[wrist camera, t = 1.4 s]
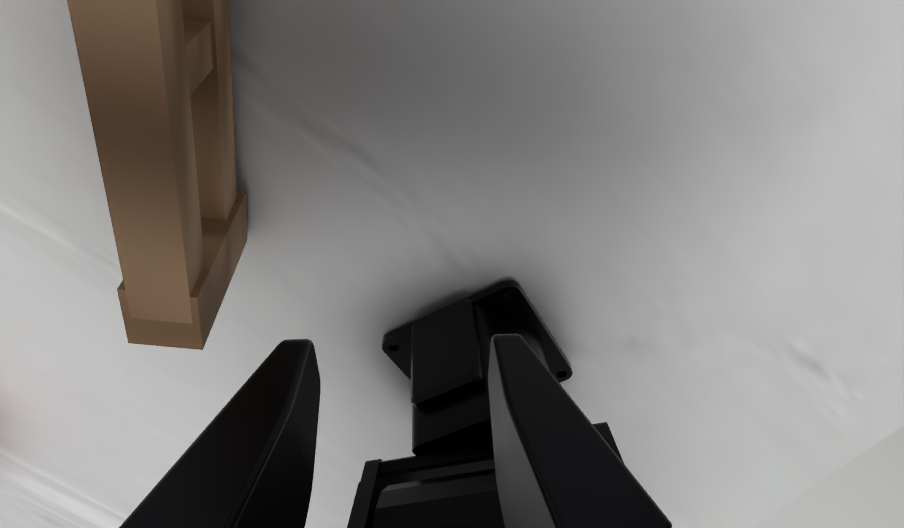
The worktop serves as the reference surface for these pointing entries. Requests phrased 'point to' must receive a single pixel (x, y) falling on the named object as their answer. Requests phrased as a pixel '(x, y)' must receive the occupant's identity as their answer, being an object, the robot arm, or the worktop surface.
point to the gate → (165, 157)
